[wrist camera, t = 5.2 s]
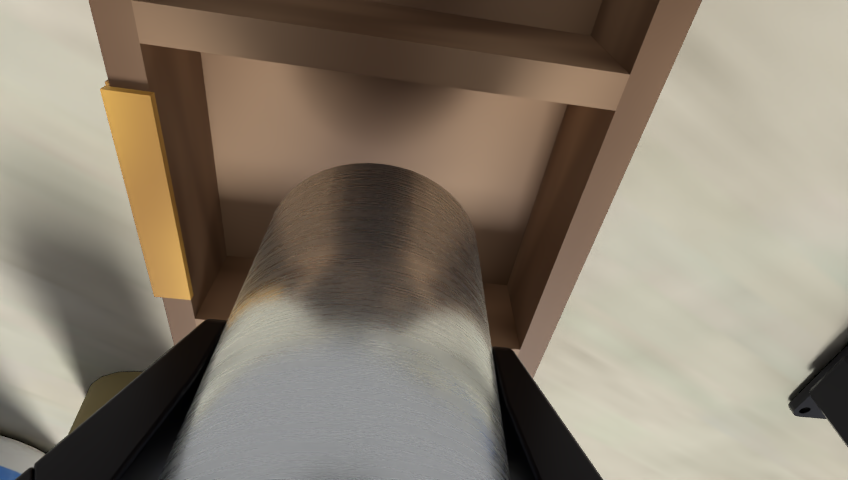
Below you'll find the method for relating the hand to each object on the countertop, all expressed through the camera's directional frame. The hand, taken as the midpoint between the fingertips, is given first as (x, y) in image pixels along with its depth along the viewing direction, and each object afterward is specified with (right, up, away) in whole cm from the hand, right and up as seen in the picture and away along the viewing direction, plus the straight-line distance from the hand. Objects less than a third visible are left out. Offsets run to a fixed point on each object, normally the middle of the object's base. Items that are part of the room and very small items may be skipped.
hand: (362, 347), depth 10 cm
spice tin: (0, +2, +2) cm, 3 cm away
